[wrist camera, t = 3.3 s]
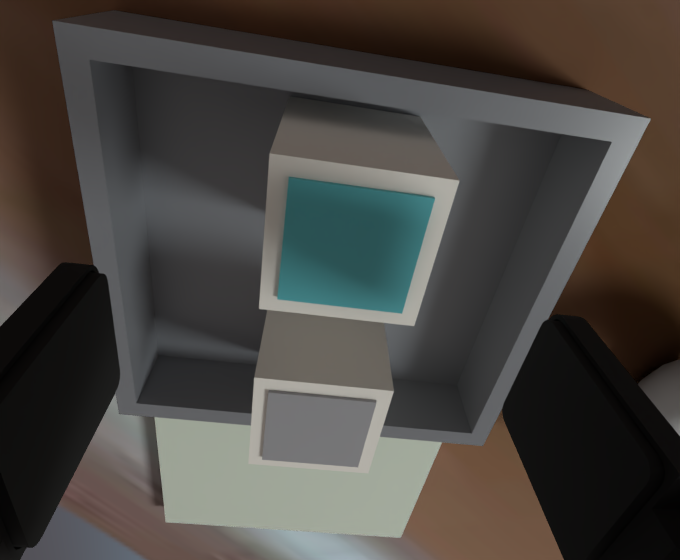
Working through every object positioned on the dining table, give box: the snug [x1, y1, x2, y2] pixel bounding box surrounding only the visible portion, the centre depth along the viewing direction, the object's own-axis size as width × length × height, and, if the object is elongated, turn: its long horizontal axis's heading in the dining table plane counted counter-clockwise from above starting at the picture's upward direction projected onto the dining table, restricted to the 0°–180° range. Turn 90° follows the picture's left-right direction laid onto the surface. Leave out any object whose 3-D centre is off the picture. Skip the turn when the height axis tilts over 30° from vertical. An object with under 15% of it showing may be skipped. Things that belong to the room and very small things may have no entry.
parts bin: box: [52, 10, 651, 446], centre depth 18 cm, size 15×17×4 cm
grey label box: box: [248, 310, 394, 473], centre depth 19 cm, size 5×5×6 cm
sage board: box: [155, 417, 442, 538], centre depth 28 cm, size 13×16×1 cm
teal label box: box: [259, 96, 460, 326], centre depth 15 cm, size 5×5×6 cm
